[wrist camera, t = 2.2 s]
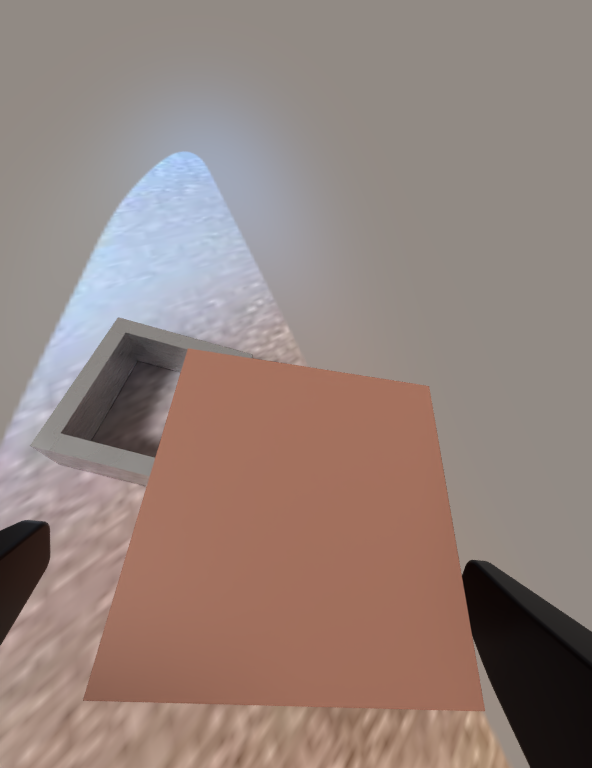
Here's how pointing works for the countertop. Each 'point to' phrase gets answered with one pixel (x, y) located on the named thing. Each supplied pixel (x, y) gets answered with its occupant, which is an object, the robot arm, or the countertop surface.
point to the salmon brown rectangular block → (292, 550)
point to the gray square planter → (112, 399)
